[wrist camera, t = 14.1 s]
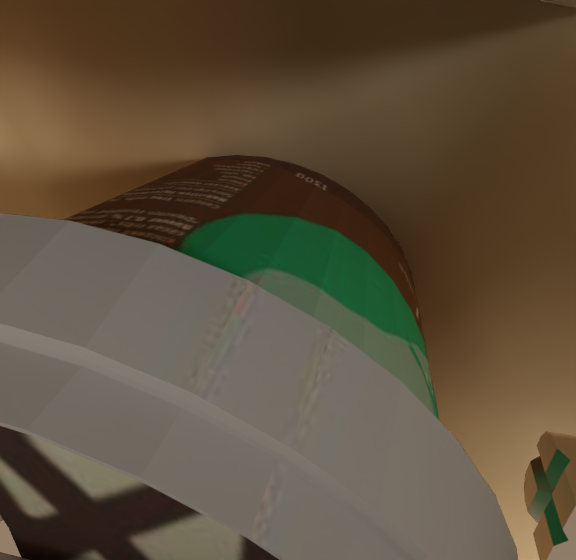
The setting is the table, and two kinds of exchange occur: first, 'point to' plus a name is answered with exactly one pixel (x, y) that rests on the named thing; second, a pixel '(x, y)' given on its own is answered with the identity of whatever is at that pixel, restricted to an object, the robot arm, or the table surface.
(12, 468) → the food container
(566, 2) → the storage box
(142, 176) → the table surface
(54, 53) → the table surface
